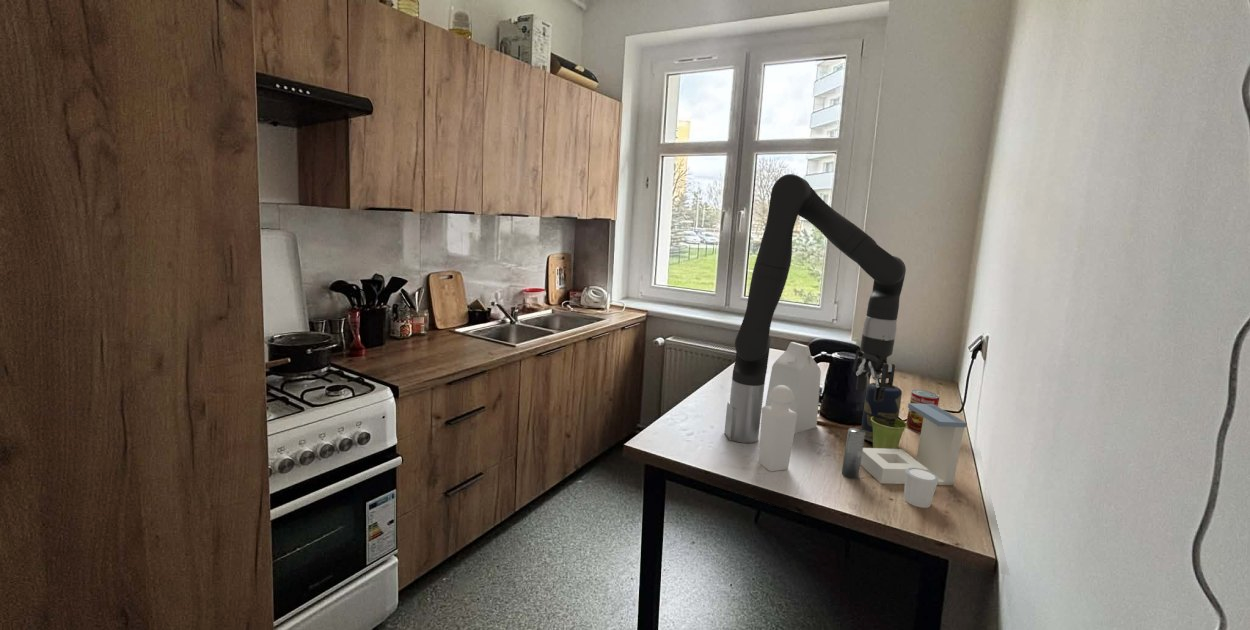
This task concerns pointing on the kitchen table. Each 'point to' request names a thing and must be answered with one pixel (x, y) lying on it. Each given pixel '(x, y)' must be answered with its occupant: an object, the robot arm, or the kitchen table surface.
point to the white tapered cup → (919, 487)
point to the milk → (798, 383)
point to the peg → (853, 453)
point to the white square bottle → (777, 430)
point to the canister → (880, 409)
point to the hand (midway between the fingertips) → (868, 395)
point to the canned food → (920, 397)
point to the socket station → (921, 449)
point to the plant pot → (887, 434)
